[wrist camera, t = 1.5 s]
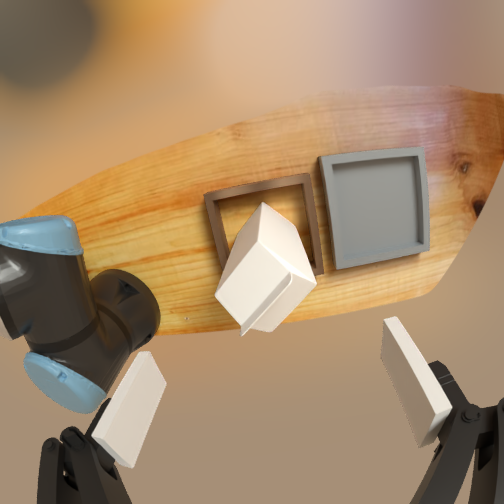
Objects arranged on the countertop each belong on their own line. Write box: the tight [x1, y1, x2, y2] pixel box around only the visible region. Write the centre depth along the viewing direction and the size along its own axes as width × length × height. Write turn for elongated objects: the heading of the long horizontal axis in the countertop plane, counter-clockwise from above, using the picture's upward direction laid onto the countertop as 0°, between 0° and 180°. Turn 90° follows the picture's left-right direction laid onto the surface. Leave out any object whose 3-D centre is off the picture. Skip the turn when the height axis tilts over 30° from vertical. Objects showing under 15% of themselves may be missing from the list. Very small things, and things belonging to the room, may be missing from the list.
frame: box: [204, 173, 324, 276], centre depth 38 cm, size 14×14×3 cm
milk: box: [215, 202, 317, 336], centre depth 29 cm, size 6×6×22 cm
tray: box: [318, 147, 430, 270], centre depth 36 cm, size 16×16×2 cm
